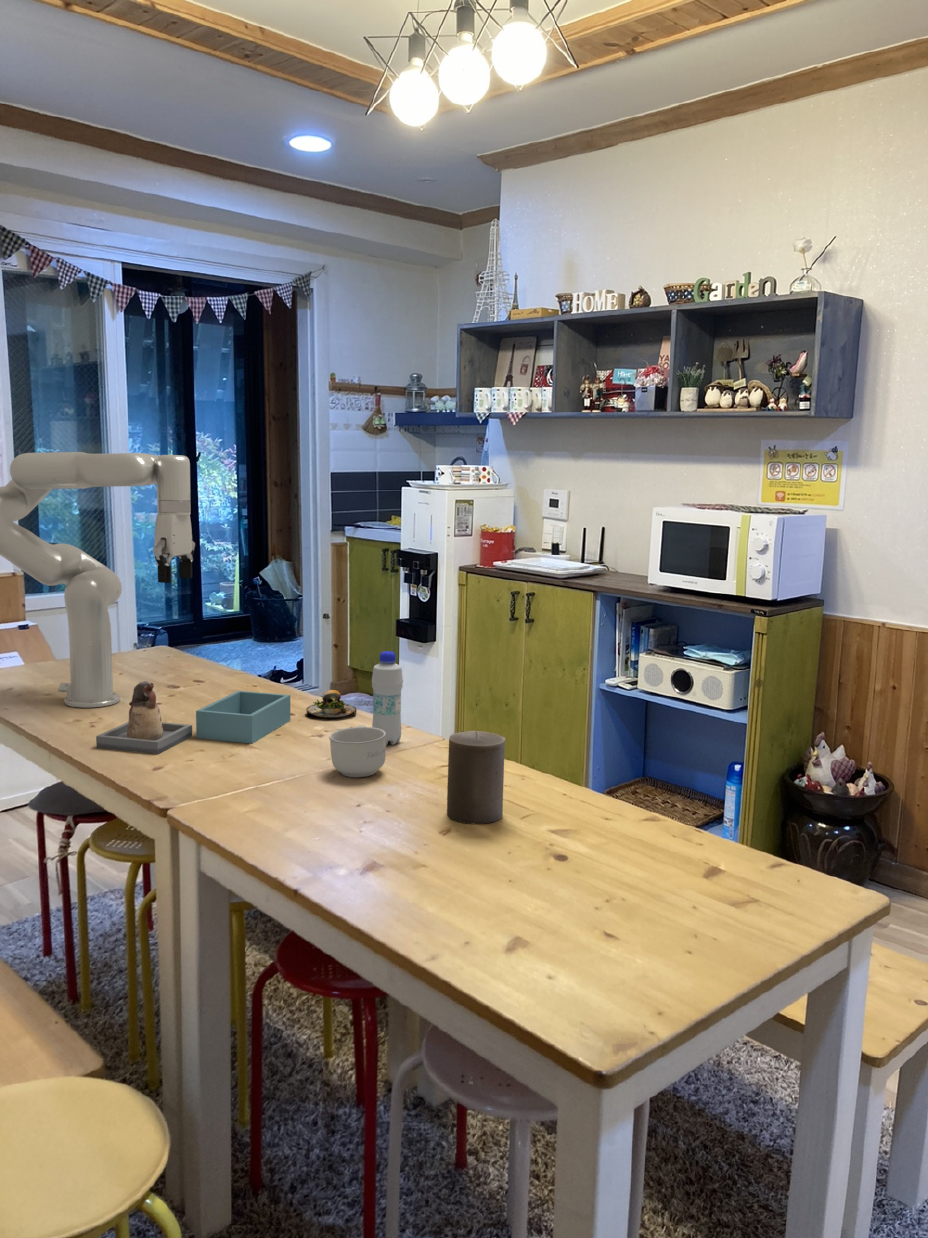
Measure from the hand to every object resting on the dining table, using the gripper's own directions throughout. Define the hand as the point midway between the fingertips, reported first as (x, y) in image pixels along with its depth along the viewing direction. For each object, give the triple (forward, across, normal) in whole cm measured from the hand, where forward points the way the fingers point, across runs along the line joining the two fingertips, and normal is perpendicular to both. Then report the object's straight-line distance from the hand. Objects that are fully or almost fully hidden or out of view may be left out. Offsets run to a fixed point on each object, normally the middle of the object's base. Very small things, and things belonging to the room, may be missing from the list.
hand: (175, 580), depth 236 cm
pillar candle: (+31, +52, +86) cm, 105 cm away
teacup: (+31, +35, +59) cm, 75 cm away
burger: (+31, -3, +38) cm, 49 cm away
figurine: (+30, +31, +10) cm, 44 cm away
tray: (+30, +31, +10) cm, 44 cm away
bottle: (+31, +15, +58) cm, 67 cm away
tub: (+30, +15, +25) cm, 42 cm away
